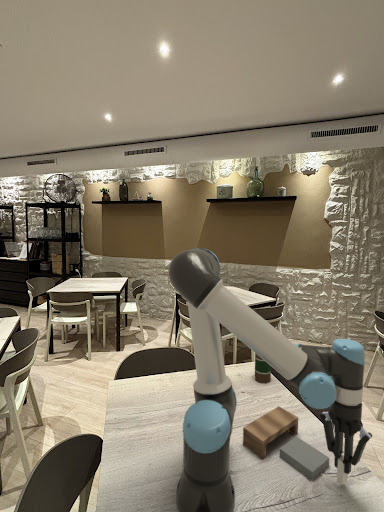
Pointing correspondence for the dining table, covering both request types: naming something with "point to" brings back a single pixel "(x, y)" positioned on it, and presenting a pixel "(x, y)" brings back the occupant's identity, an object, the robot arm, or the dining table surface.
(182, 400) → the dining table surface
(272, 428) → the walnut arch bridge
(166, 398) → the dining table surface
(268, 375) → the beer bottle
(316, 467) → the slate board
